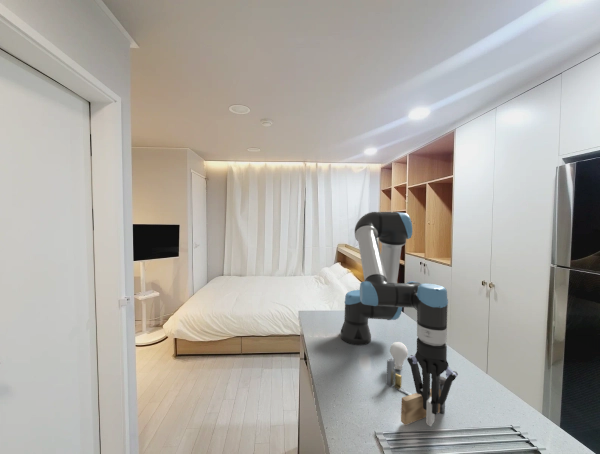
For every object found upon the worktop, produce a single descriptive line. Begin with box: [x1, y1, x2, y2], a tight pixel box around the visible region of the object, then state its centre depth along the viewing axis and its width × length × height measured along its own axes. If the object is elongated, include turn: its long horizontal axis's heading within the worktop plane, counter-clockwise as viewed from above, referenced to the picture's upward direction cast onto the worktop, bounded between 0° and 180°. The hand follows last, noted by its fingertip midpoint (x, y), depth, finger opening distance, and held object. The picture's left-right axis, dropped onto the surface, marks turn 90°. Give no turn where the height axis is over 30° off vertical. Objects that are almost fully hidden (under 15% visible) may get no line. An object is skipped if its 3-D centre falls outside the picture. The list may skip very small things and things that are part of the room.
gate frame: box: [385, 357, 446, 415], centre depth 84 cm, size 19×3×9 cm, turn 43°
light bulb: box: [389, 341, 409, 371], centre depth 99 cm, size 7×7×11 cm
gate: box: [400, 375, 447, 426], centre depth 75 cm, size 17×2×10 cm, turn 112°
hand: (430, 422), depth 71 cm, fingers closed
